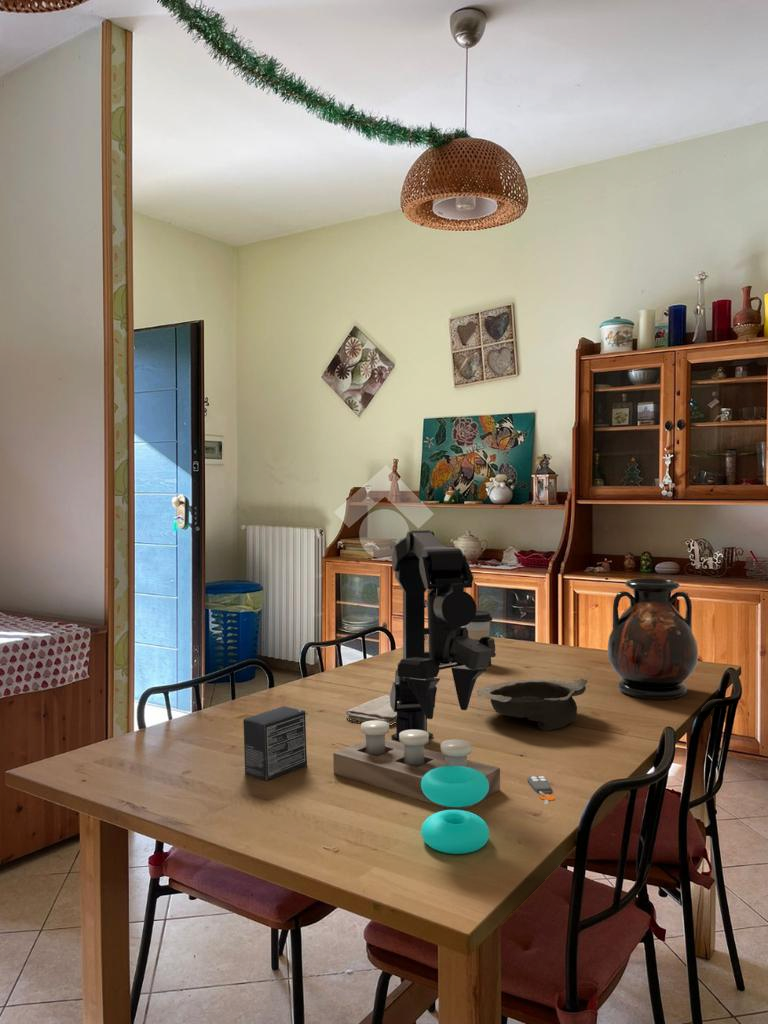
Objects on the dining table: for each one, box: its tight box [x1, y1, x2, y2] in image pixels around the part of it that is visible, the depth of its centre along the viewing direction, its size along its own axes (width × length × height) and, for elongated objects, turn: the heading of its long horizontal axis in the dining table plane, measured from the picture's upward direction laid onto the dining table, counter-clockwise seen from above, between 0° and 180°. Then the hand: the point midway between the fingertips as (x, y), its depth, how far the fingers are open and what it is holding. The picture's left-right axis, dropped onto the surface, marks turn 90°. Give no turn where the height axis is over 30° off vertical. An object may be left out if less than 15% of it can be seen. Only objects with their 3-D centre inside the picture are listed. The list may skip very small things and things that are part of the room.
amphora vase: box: [607, 577, 699, 700], centre depth 198 cm, size 22×22×28 cm
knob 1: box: [360, 720, 390, 756], centre depth 146 cm, size 5×5×5 cm
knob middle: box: [398, 730, 430, 767], centre depth 140 cm, size 5×5×5 cm
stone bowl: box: [476, 678, 588, 732], centre depth 177 cm, size 25×25×9 cm
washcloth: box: [345, 694, 399, 725], centre depth 182 cm, size 12×18×3 cm, turn 148°
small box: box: [242, 705, 308, 782], centre depth 147 cm, size 11×6×10 cm, turn 141°
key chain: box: [527, 775, 556, 805], centre depth 134 cm, size 13×4×2 cm, turn 3°
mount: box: [332, 738, 501, 811], centre depth 141 cm, size 12×28×4 cm, turn 51°
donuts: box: [420, 766, 490, 855], centre depth 117 cm, size 10×10×10 cm
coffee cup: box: [462, 610, 493, 641], centre depth 231 cm, size 9×9×15 cm
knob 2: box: [440, 738, 472, 767], centre depth 135 cm, size 5×5×5 cm
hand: (447, 714), depth 134 cm, fingers open, 9 cm apart
